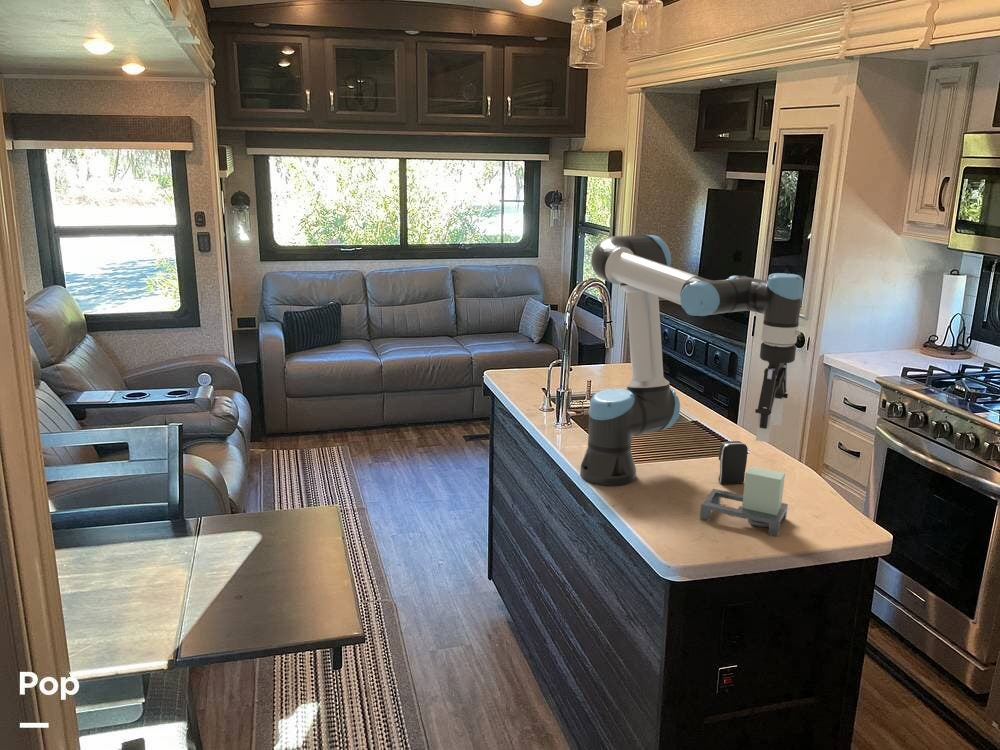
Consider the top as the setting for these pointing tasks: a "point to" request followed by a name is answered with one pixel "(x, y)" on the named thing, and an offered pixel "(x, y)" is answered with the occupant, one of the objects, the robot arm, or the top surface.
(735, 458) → the battery charger
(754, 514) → the keyhole plate
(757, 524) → the pale green boxy piece
